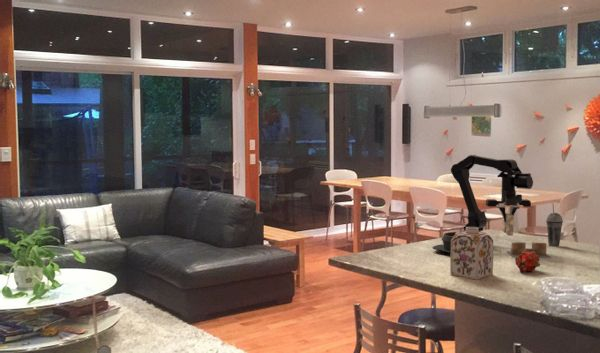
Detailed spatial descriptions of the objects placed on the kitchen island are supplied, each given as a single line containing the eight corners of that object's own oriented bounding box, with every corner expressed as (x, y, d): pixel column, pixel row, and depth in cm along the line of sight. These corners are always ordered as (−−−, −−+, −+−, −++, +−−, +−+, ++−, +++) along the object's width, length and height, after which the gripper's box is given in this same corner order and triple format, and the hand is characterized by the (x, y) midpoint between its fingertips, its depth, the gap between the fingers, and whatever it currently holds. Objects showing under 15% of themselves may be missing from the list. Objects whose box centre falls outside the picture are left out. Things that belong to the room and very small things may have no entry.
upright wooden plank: (508, 235, 276) (508, 215, 276) (502, 231, 288) (502, 211, 288) (512, 235, 276) (513, 215, 275) (506, 231, 288) (507, 211, 287)
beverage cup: (565, 247, 287) (567, 203, 286) (553, 248, 285) (554, 204, 283) (554, 244, 294) (555, 202, 293) (541, 245, 291) (543, 202, 290)
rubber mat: (512, 258, 263) (512, 257, 263) (506, 252, 276) (506, 251, 276) (552, 259, 261) (552, 258, 261) (543, 253, 274) (543, 251, 274)
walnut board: (512, 254, 268) (512, 243, 268) (511, 253, 270) (511, 242, 270) (546, 255, 267) (546, 243, 266) (544, 254, 269) (545, 242, 268)
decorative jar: (449, 275, 234) (449, 227, 233) (465, 270, 242) (466, 224, 241) (478, 280, 226) (478, 231, 224) (494, 275, 234) (495, 227, 232)
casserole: (426, 254, 273) (426, 235, 273) (440, 247, 289) (441, 229, 288) (483, 260, 260) (483, 240, 259) (495, 252, 275) (495, 233, 275)
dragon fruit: (535, 272, 244) (523, 282, 236) (518, 257, 248) (505, 267, 239) (548, 257, 240) (535, 267, 231) (529, 242, 243) (517, 251, 235)
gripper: (490, 189, 274) (489, 224, 275) (534, 189, 272) (533, 224, 273) (485, 186, 285) (485, 220, 286) (528, 187, 283) (527, 221, 284)
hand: (507, 222), depth 282 cm, fingers closed on upright wooden plank, 2 cm apart
